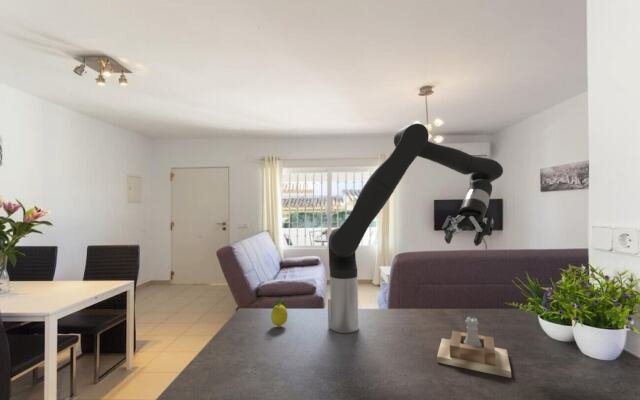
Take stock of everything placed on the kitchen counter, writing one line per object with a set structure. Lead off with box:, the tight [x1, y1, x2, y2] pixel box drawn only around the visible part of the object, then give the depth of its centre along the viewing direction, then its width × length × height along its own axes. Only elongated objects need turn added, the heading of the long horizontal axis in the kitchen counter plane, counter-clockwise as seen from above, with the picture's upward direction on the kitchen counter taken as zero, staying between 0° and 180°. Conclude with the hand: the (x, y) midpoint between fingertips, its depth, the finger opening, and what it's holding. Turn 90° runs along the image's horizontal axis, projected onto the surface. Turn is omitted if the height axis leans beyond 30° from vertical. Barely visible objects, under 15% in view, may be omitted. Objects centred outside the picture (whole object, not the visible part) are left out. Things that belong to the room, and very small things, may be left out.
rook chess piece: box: [464, 316, 482, 347], centre depth 78 cm, size 4×4×8 cm
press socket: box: [436, 330, 512, 379], centre depth 77 cm, size 16×12×4 cm
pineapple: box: [270, 299, 288, 328], centre depth 100 cm, size 7×6×10 cm
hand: (461, 243), depth 91 cm, fingers open, 8 cm apart
